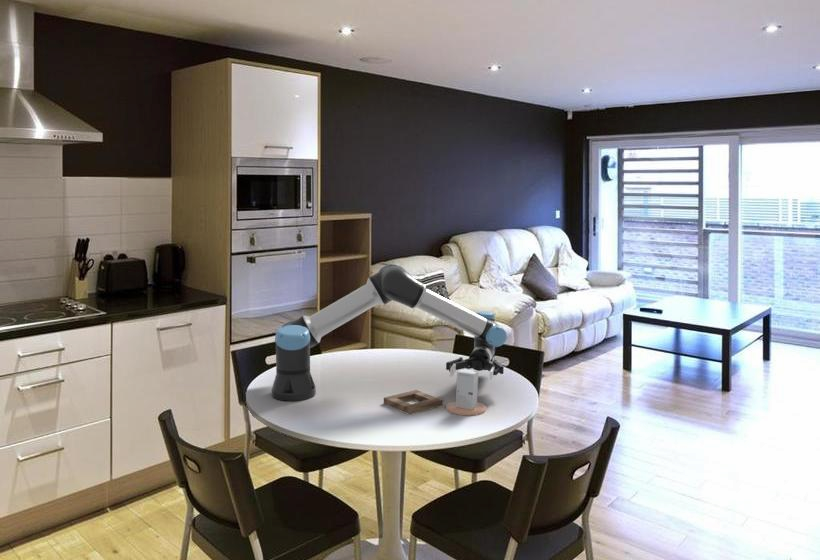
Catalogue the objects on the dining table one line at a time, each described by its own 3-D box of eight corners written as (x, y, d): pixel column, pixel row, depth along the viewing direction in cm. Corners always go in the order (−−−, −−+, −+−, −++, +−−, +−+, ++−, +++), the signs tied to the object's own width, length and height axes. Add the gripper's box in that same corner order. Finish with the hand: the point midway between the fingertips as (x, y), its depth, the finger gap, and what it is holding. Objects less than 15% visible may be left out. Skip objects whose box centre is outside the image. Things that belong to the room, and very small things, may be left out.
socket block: (383, 403, 221) (383, 397, 221) (415, 395, 230) (415, 389, 229) (409, 414, 210) (409, 408, 210) (442, 405, 219) (442, 399, 219)
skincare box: (455, 407, 215) (455, 371, 214) (460, 403, 219) (461, 368, 218) (472, 410, 213) (473, 374, 211) (478, 406, 216) (478, 370, 215)
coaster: (437, 407, 217) (437, 405, 217) (466, 399, 225) (466, 398, 225) (465, 418, 207) (465, 416, 207) (494, 409, 215) (494, 408, 215)
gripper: (513, 370, 241) (507, 387, 221) (446, 366, 247) (434, 382, 227) (514, 350, 240) (508, 365, 220) (447, 346, 246) (435, 360, 226)
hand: (470, 374), depth 223 cm, fingers open, 13 cm apart
